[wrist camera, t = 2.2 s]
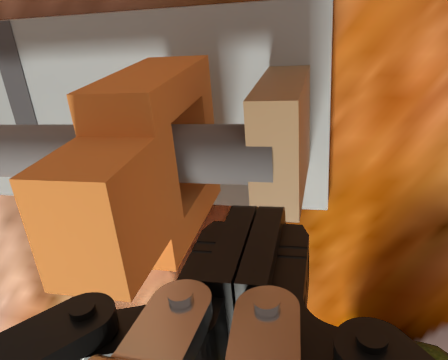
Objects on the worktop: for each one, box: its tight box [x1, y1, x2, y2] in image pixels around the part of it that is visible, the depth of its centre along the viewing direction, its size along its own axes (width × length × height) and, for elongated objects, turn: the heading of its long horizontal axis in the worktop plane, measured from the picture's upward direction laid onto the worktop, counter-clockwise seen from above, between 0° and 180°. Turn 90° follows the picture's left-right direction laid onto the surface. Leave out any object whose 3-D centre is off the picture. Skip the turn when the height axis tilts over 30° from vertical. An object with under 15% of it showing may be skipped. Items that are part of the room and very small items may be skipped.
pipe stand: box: [0, 0, 333, 223], centre depth 22 cm, size 24×11×8 cm, turn 95°
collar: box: [9, 55, 221, 302], centre depth 17 cm, size 3×7×10 cm, turn 4°
